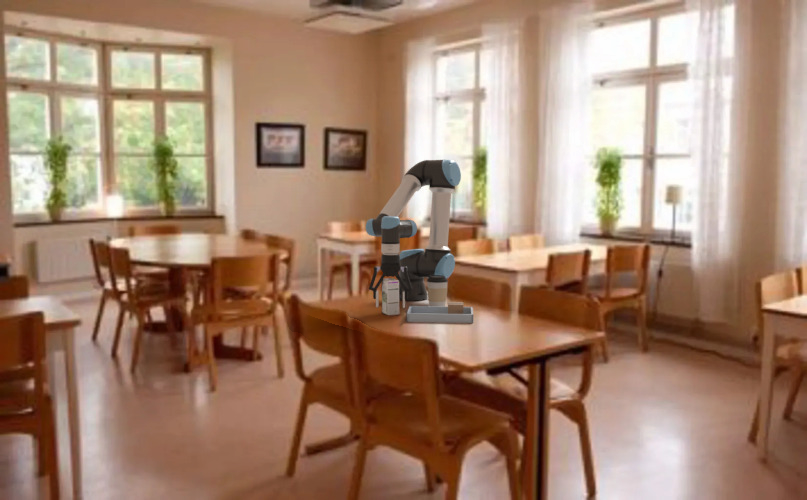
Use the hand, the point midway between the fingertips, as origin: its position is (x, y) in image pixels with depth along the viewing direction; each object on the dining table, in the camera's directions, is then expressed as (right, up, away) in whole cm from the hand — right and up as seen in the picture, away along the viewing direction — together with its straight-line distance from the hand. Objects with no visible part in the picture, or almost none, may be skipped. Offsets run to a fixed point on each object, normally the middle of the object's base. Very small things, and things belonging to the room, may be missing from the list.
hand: (390, 307), depth 281 cm
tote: (+20, -4, -12) cm, 24 cm away
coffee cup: (+20, -2, +9) cm, 22 cm away
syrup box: (0, -3, 0) cm, 3 cm away
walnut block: (+26, -3, -13) cm, 29 cm away
